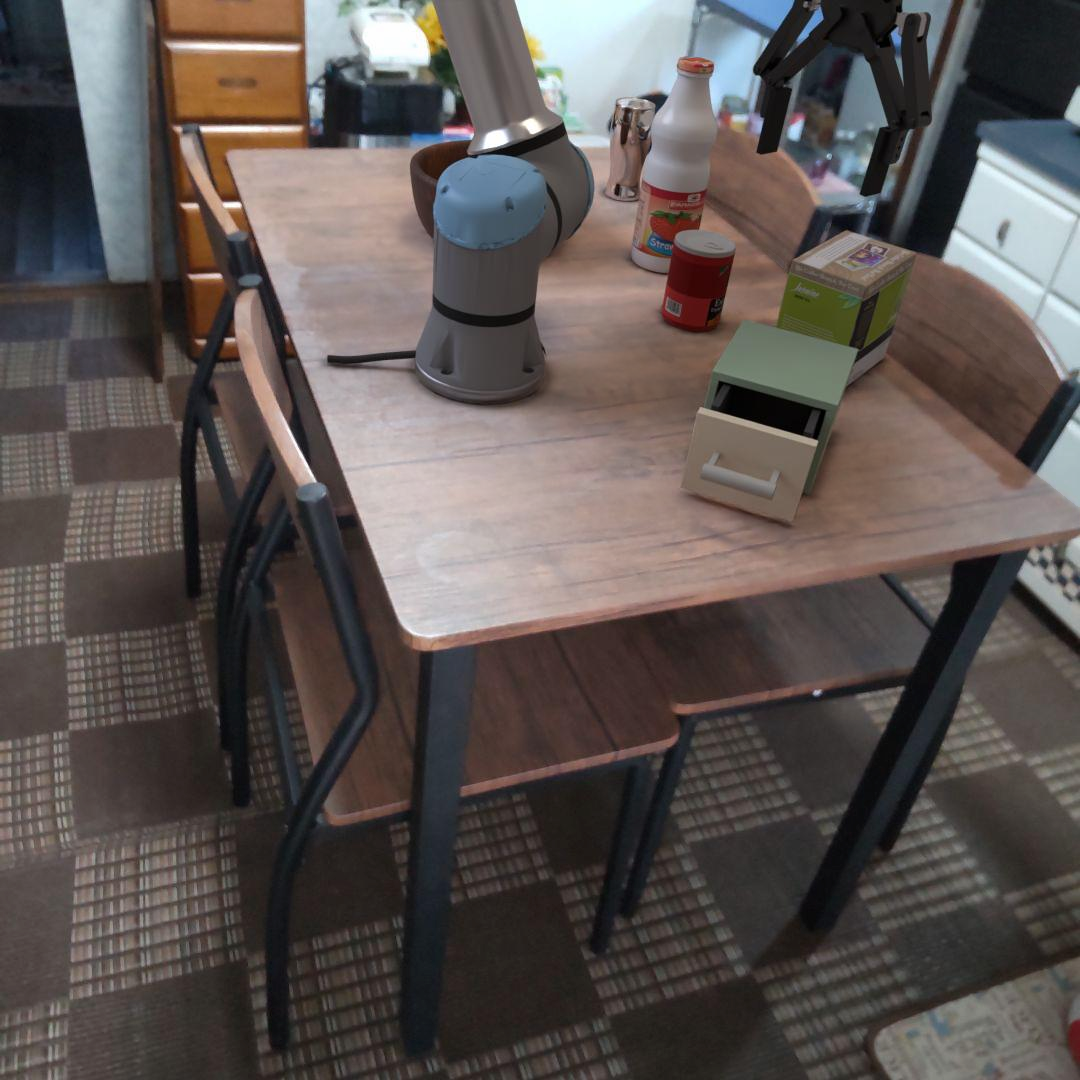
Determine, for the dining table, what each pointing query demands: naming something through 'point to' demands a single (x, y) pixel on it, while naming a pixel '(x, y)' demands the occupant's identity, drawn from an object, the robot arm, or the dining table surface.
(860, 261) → the tea box
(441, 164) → the wooden bowl
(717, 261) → the canned food
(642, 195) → the fruit juice
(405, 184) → the dining table surface
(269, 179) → the dining table surface
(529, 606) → the dining table surface
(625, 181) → the silver metal tumbler
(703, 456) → the cabinet drawer
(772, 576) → the dining table surface
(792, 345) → the mini drawer cabinet
